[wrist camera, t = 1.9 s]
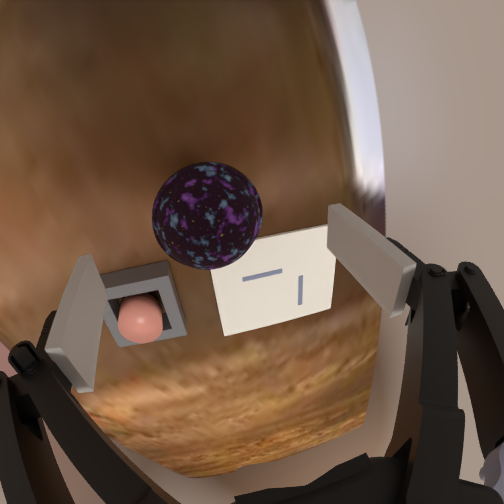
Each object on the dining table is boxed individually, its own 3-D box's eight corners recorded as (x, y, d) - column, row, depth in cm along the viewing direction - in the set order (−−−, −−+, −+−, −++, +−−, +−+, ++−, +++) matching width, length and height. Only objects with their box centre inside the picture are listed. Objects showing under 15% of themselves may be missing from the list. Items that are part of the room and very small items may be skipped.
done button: (113, 297, 30) (110, 314, 28) (155, 288, 31) (155, 306, 29) (128, 328, 33) (127, 346, 30) (166, 320, 34) (167, 338, 31)
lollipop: (240, 174, 29) (298, 246, 17) (187, 214, 30) (205, 312, 18) (200, 121, 26) (231, 150, 13) (144, 166, 26) (122, 237, 14)
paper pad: (206, 248, 33) (206, 250, 32) (336, 221, 35) (338, 223, 35) (223, 334, 40) (224, 336, 40) (329, 306, 43) (330, 308, 43)
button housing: (95, 276, 31) (90, 291, 28) (167, 260, 32) (168, 275, 30) (120, 330, 35) (119, 347, 33) (184, 318, 37) (187, 334, 34)
